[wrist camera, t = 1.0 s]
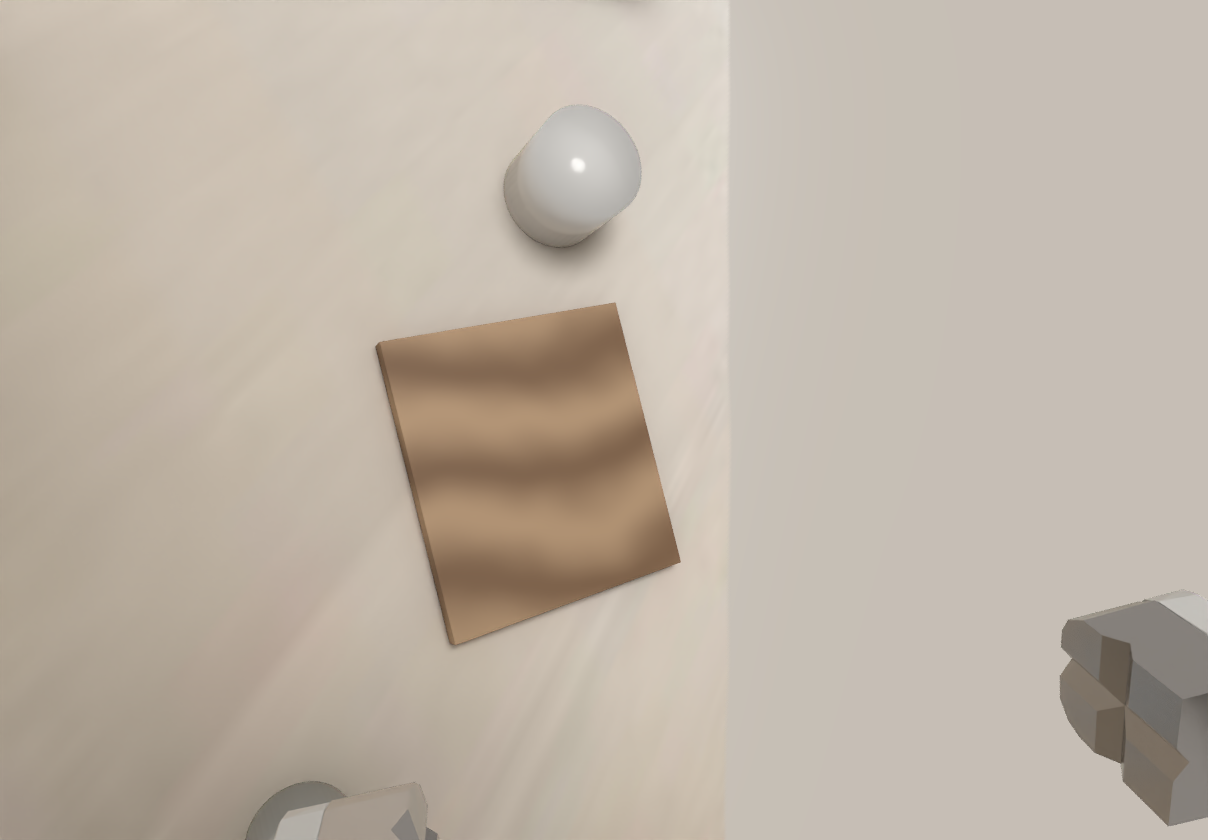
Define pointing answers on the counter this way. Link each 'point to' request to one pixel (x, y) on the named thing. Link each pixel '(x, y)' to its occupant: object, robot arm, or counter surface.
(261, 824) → the blue-grey tall cylinder
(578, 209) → the white dome-topped cylinder
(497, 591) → the walnut board
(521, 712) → the counter surface
